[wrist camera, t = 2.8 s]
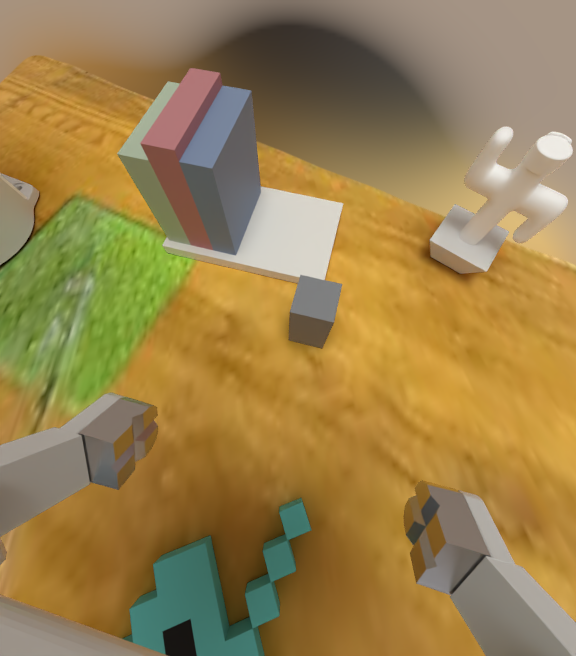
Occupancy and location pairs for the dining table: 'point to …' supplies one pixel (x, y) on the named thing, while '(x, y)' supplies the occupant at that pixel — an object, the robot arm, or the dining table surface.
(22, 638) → the robot arm
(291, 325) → the bookend block
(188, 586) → the alien figure
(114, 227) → the dining table surface
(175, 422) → the dining table surface
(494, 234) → the figurine
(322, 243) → the shelf board
